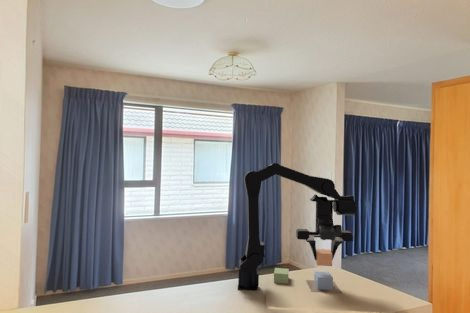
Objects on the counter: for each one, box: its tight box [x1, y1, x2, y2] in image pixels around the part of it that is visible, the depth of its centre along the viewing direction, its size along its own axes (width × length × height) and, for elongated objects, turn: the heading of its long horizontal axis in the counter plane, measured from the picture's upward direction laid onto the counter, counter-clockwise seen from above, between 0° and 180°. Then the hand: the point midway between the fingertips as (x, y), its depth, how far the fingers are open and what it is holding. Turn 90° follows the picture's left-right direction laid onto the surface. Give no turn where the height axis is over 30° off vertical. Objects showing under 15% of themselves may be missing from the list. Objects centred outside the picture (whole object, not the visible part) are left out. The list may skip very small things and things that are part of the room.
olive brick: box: [273, 267, 289, 284], centre depth 125 cm, size 5×7×4 cm
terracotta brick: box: [314, 248, 333, 267], centre depth 119 cm, size 5×7×4 cm
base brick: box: [313, 270, 334, 290], centre depth 119 cm, size 5×7×4 cm
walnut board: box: [305, 279, 343, 294], centre depth 119 cm, size 10×12×1 cm
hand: (323, 260), depth 119 cm, fingers closed on terracotta brick, 5 cm apart
